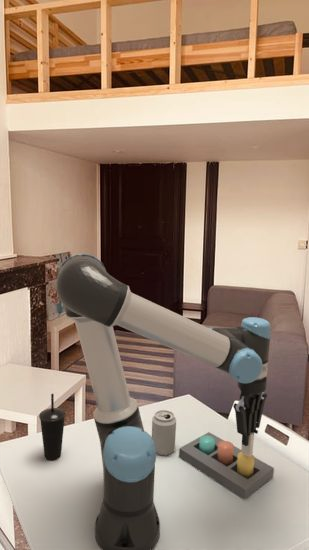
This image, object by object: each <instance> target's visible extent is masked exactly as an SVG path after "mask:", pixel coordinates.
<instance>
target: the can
mask: <svg viewBox="0 0 309 550" xmlns="http://www.w3.org/2000/svg"><path fill="white" fill-rule="evenodd" d="M176 430H177V418H176V416H175V414H174V412H172V411H171V410H167V409H161V410H157V411H156V412H154V414H153V417H152V422H151V437H152V439H153V441H154V444H155V450H156V455H159V454H160V455H161V456H167V455H166V454H168V455H170V454H171V453H173V452H174V451H175V449H176V434H177V433H176V432H177V431H176ZM169 453H170V454H169Z"/></svg>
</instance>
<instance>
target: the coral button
mask: <svg viewBox="0 0 309 550" xmlns="http://www.w3.org/2000/svg"><path fill="white" fill-rule="evenodd" d="M234 446H235V444H233V442H230V441H227V440H224V441H221V442H219V443H218V453H217V461H218V462H220V463H222V464H223V465H225V466H229V465H231V464H232V463H233V452H234Z"/></svg>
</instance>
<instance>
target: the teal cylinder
mask: <svg viewBox="0 0 309 550" xmlns="http://www.w3.org/2000/svg"><path fill="white" fill-rule="evenodd" d="M203 435H204V434H203ZM203 435H201V436H199V437H200V443H199V450H200V451H202V452H203V453H205V454H207V455H210V454H211V453H213V452H214V446H215V439H214V438H213V437H211V436H208V435H204V436H203Z"/></svg>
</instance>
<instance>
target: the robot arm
mask: <svg viewBox="0 0 309 550" xmlns="http://www.w3.org/2000/svg"><path fill="white" fill-rule="evenodd" d="M57 270H58V271H57V277H56V278H57V279H56V285H55V288H56V294H57V297H58V299H59V302H61V303H62V305H63V307H64V310H65V314H66V315H65V316H66V317H67V318H69V320H73V322H74V323H75V327H76V330H77V335H78V338H79V343H80V347H81V349H82V350H81V351H82V353H83V357H84V362H85V364H86V365H85V366H86V369H87V372H88V377H89V380H90V384H91V387H92V391H93V395H94V400H95V403H96V408H95V409H94V412H93V413H92V414H93V420H94V423H95V427H96V430H97V434H98V440H99V445H100V453H101V461H102V470H103V471H102V472H103V475H102V476H103V481H102V483H103V484H102V485H103V486H102V487H103V488H102V491H103V492H102V496H103V497H102V503H101V506H100V510H99V513H98V514H97V516H96V520H95V524H94V538H95V540H96V543H97V545H98V547H99V548H100V549H101V550H153V549H154V547H155V546H156V545H157V543H158V541H159V539H160V529H161V522H160V521H161V520H160V518H159V514H158V511H157V508H156V505H155V502H154V496H155V495H154V494H155V493H154V491H155V473H156V469H155V468H156V467H155V466H156V461H157V453H156V450H155V444H154V441H153V439H152V435H150V433H148V432H147V431H146V430H145V429H144V424H143V421H142V417H141V413H140V409H139V404H138V401H137V400H136V399H135V398H133V397H131V396H130V392H129V388H128V383H127V379H126V377H125V375H126V374H125V372H124V367H123V363H122V359H121V355H120V351H119V346H118V343H117V338H116V334H115V330H114V326H119V327H121V328H124V329H125V330H127V331H130V332H133V333H135V334H137V335H138V336H142V337H144V338H146V339H149V340H151V341H153V342H156V343H158V344H160V345H163V346H165V347H167V348H170V349H172V350H174V351H176V352H178V353H181V354H184V355H186V356H188V357H190V358H193V359H194V360H195V359H196V360H198V361H200V362H202V363H204V364H207V365H209V366H212V367H214V368H216V369H217V370H219V371H223V372H225V373H227V374H228V375H230V377H231V378H232V379H234V380H235V381H237V387H238V389H239V390H240V394H239V402H237V403H233V405H232V406H233V409H234V411H235V422H236V431H237V433H238V434H240V435H241V449H240V450H241V453H243V454H244V455H246V456H248V457H250V456H252V455H253V453H254V439H255V434H256V435H257V434H258V433H259V430H258V429H260V425H261V421H262V416H263V412H264V411H263V410H264V407H265V402H266V400H267V397H268V394H267V393H266V392H265V391H266V389H267V383H268V382H267V380H268V377H267V376H268V370H269V368H268V365H269V355H270V343H271V338H272V337H271V323H270V322H269V321H267V320H266V319H265V318H262V317H257V316H256V317H255V316H253V317H251V316H249V317H246V318H243V319H242V320H241V324H240V326H234V327H232V326H230V327H226V326H225V327H211V326H210V327H207V326H205V325H203V324H200V323H198V322H196V321H193V320H191V319H190V318H187V317H185V316H183V315H181V314H179V313H177V312H174V311H172V310H170V309H168V308H166V307H163V306H161V305H159V304H157V303H155V302H152V301H151V300H148V299H146V298H144V297H142V296H140V295H138V294H135V293H133V292H132V291H131V289H130V286H129V285H127V284H125V283H123V282H121V281H119V280H118V279H116V278H115V277H113V276H112V275H110V274H109V273H108V272H107V270H106V267H105V266H104V263H103V262H102V261H101V260H100V259H99V258H98V257H96V256H94V255H91V254H87V253H77V254H73V255H71V256H69V257H68V258H66V259H65V260H64V261H63V262H62V263H61V265H60V266H59V268H58V269H57Z"/></svg>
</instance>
